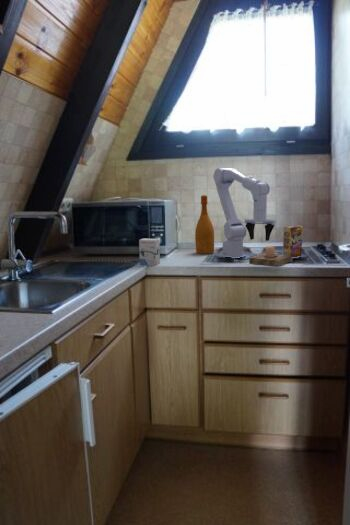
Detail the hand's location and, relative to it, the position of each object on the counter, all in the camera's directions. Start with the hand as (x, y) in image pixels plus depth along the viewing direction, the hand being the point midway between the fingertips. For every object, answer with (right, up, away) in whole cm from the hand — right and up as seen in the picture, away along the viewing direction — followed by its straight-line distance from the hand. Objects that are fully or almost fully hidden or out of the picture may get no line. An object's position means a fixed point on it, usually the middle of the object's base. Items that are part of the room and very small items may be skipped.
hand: (259, 239), depth 193 cm
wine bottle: (-23, -5, +30) cm, 38 cm away
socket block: (+5, -10, +1) cm, 11 cm away
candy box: (+17, -9, +8) cm, 21 cm away
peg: (+5, -10, +1) cm, 11 cm away
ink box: (-50, -11, +5) cm, 52 cm away
